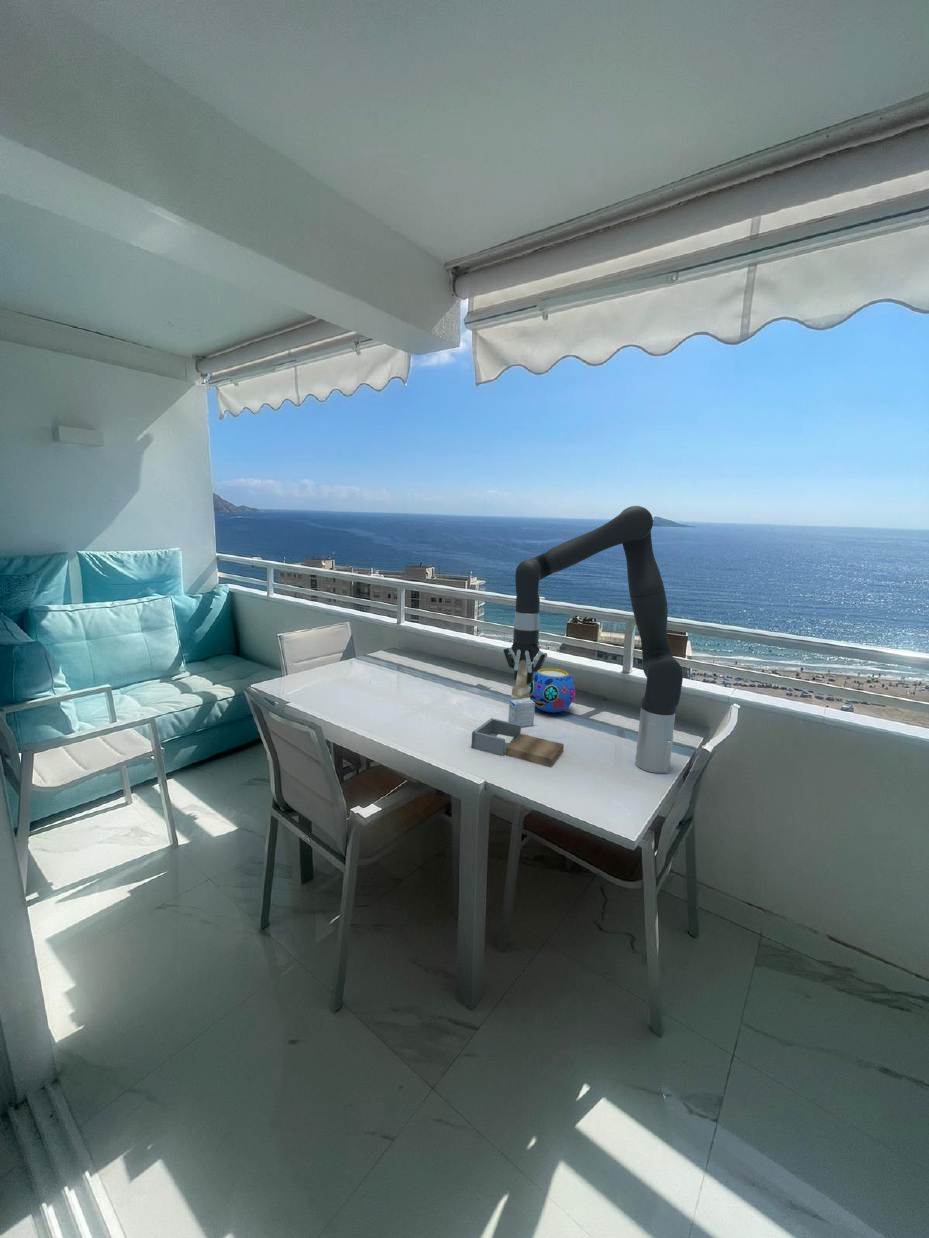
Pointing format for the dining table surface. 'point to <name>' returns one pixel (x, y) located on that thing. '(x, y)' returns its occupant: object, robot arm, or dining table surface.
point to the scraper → (521, 682)
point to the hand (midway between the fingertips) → (523, 682)
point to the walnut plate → (535, 750)
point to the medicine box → (521, 712)
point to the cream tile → (506, 739)
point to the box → (494, 736)
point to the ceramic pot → (552, 690)
